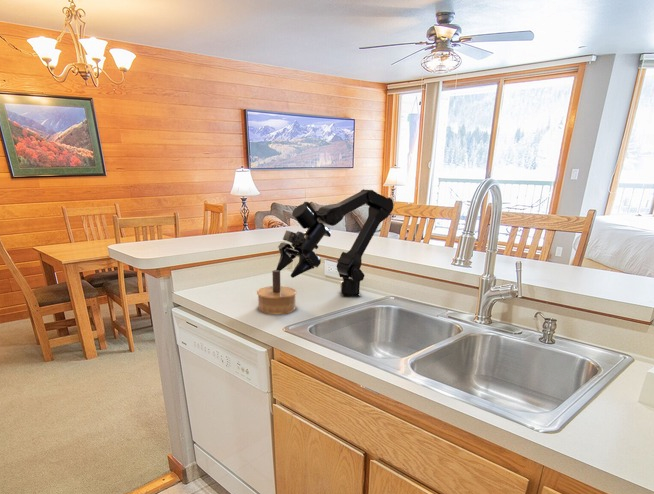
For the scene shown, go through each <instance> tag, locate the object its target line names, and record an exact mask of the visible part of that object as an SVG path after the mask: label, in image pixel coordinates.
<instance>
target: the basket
mask: <svg viewBox="0 0 654 494" xmlns="http://www.w3.org/2000/svg"><path fill="white" fill-rule="evenodd" d="M257 302H258V310H259V311H260V312H262V313H264V314H268V315H284V314H289V313H292V312H294V311H295V310H296V295H294V296H292V297H289V298H281V299H271V298H264V297H261V296H259V295H257Z"/></svg>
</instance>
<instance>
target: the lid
mask: <svg viewBox="0 0 654 494" xmlns="http://www.w3.org/2000/svg"><path fill="white" fill-rule="evenodd" d="M271 272H272V286H263V287H261V288H259V289H257V290H256V295H257V296H258V295H259V296H261V297H264V298H271V299H281V298H289V297H292V296H294V295H295V296H296V295H297V290H296V289H295V288H293V287H289V286H281V271H279V270H276V269H273V270H272V271H271Z"/></svg>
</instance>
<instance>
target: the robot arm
mask: <svg viewBox="0 0 654 494" xmlns="http://www.w3.org/2000/svg"><path fill="white" fill-rule="evenodd" d="M364 205H366V206H368V210H367V211H368V212H367V213H368V214H367V215H368V216H367V218H366V220H365V221H364V224H363V225H362V228H361V229H360V231H359V233H358V235H357V236H356V239H355V240H354V242H353V244H352V246H351V248H350V249H349V251H347V252H345V251H342V252H341V254H340V256H339V258H338V259H337V260H336V262H337V263H336V270H337V273H338V276H339V277H340V278H342V281H340V294H341V295H342V297H345V298H346V297H349V298H350V297H361V294H360V289H361V281H363V280H364V279H365V276H366V275H365V273H364V272H363V271H362V270H361V267H362V260H363V259H362V258H363V256H364V253H365V251H366V250H367V247H368V246H369V244H370V242H371V240H372V239H373V236H374V235H375V233H376V231H377V230H378V227H379V226H380V224H381V223H382V222H384V221H385V220H386V219H388V217H389V216H390V215H391V213H392V212H393V211H394V208H395V206H394V201H393V199H392V198H391V197H388V196H387V197H386V196H384V195H382V194H380V193H378V192H376V191H375V190H373V189H371V188H363V189H361V190H360V191H359V192H357V193H355V194H353V195H351V196H349V197H347V198H345V199H343V200H342V201H339V202H338V203H332V204H327V205H323V206H320V207H319V208H318V209H317V210H315V209H314V208H313V207H312V205H311V203H310V202H309V201H304V202H303V203H302V204H300V205H298V206H297V207H295V208H294V209H293V210H292V213H291V216H292V217H293V218H294V220H295V221H296V222H297V223H298V225H300V227H301V228H302V229H304V230H305V229H306V230H305V232H302V231H300V230H299V231H296V232H294V231H290V230H285V231H284V234H283V237H282V240H283V241H285V242H280V243H279V244H278V246H277V248H278V251H279V253H280V254H279V255H280V257H279V260H278V262H277V265H276V268H275V270H279V271H280V272H282V270H284V269H285V268H286V267H288V266H289V265H290V264H291V263H292V262H293V261H294V260H295V259H296V258H297V257H298V263H297V264H296V265H295V267H294V269H293V270H292V272H291V273H290V277H291V278H296V277H298V276H300V275H301V274H304V273H306V272H308V271H310V270H314V269H315V268H316V269H317V268H319V267H320V265H321V261H322V259H321V258H320V257H319V256H318V255H317V253H316V252H315V251H314V250H318V249H319V245H318V244H319V243H320V242H321V240H323V238H324V237H328V238H330V237H331V236H332V235H331V228H329V227H326V226H330V227H333V226H336V225H338V224H339V223H340V222H341V221H342V220H343V219H344V217H345V216H346V215H347V214H350V213H351V212H353V211H355V210H357V209H358V208H360V207H362V206H364ZM325 225H326V226H325ZM286 241H287V242H286Z"/></svg>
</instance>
